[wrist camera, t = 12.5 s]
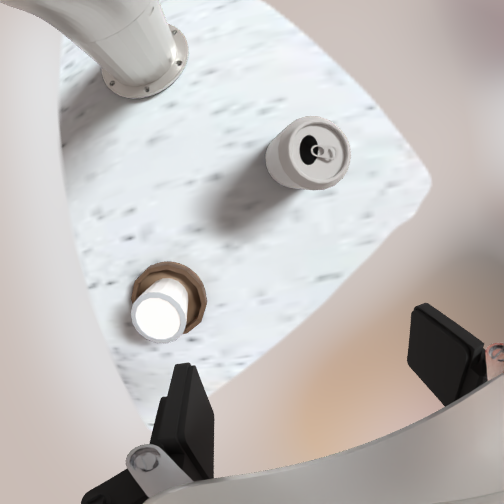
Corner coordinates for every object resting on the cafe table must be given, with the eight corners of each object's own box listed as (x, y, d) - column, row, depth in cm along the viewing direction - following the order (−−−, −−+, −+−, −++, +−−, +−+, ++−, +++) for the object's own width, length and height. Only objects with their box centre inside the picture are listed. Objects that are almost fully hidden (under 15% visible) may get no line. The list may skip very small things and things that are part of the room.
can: (266, 129, 35) (284, 106, 23) (321, 137, 36) (359, 120, 24) (262, 185, 37) (277, 186, 25) (317, 190, 37) (354, 195, 26)
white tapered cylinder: (198, 314, 39) (193, 339, 33) (153, 322, 39) (141, 347, 32) (185, 268, 38) (176, 287, 31) (139, 278, 37) (122, 298, 31)
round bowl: (127, 269, 38) (122, 273, 36) (196, 254, 38) (194, 258, 36) (149, 332, 40) (145, 339, 38) (213, 321, 40) (213, 328, 38)
